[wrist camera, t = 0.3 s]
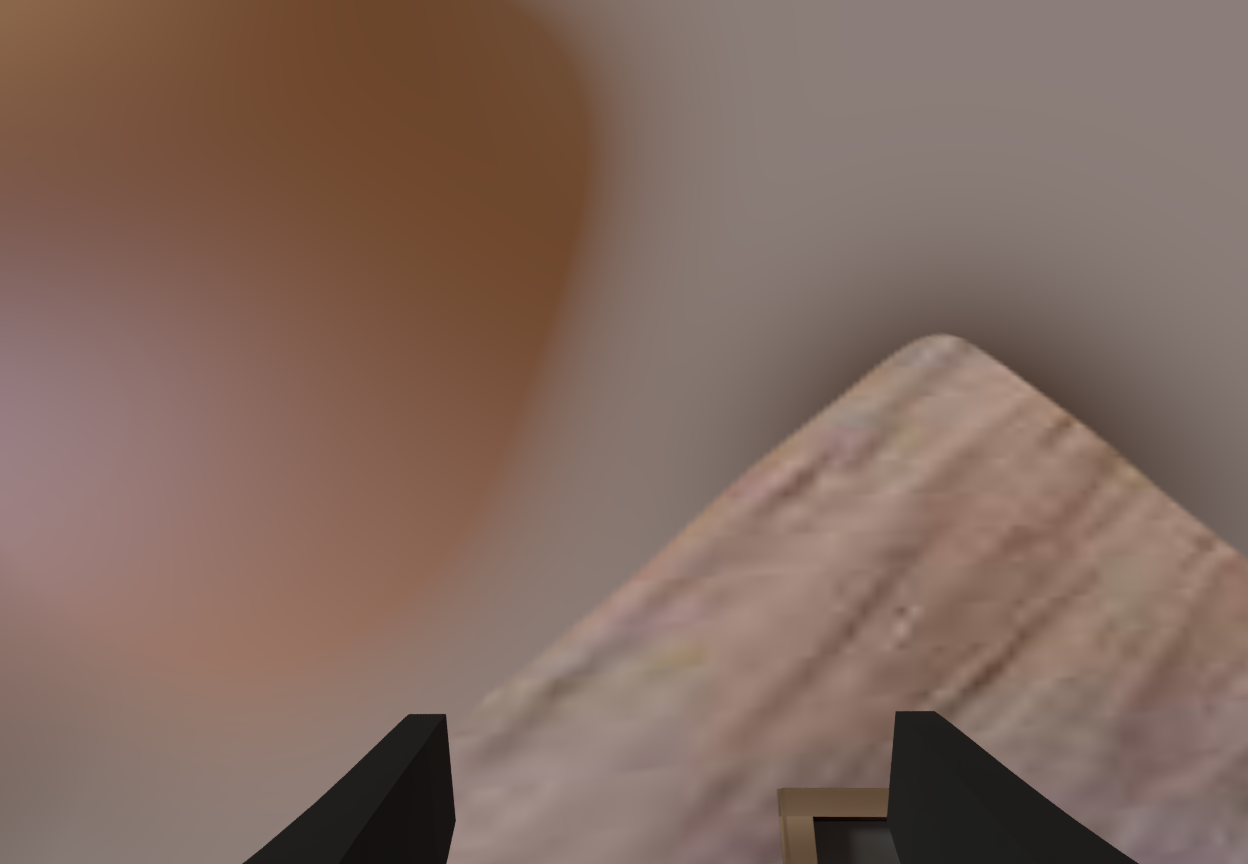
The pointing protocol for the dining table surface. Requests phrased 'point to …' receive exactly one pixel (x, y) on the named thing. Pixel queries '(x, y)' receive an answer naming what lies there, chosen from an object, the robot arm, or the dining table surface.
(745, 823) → the dining table surface
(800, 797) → the channel
